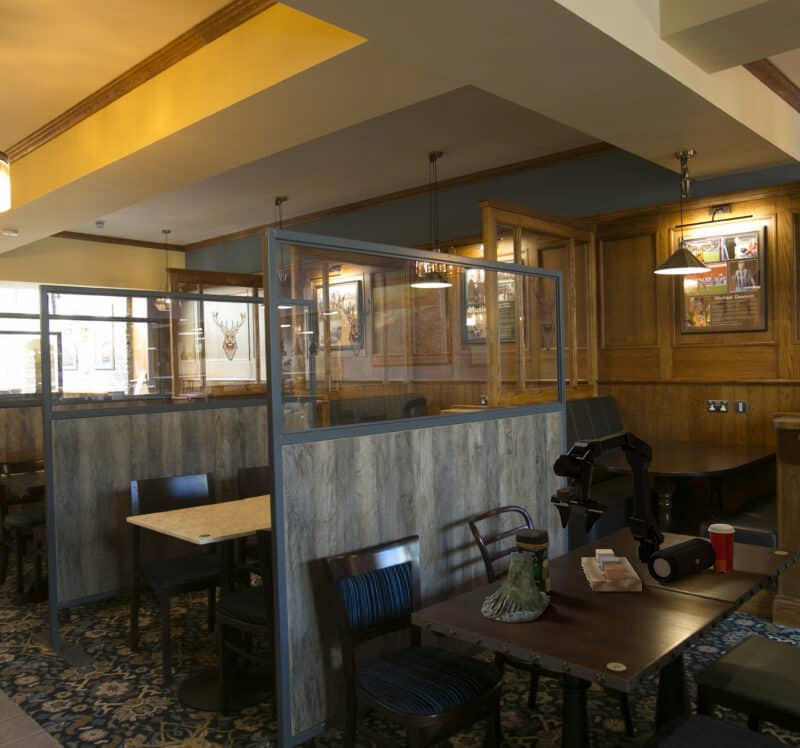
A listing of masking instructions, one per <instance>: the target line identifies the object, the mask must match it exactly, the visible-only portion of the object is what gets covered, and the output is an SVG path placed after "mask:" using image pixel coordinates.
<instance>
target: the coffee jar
mask: <svg viewBox="0 0 800 748" xmlns="http://www.w3.org/2000/svg"><path fill="white" fill-rule="evenodd" d="M514 540H515V541H514V542H515V547H516V549H517V553H521V554H526V555H531V556H533V560H532V561H533V574H534V582H535V584H536V586H537V587H538V589H539V592H543V593H545V594H546V595H547V594H548V593H549V592H550V591H551V589H552V588H551V587H552V585H551V577H550V569H549V561H548V559H549V558H548V552H549V551H548V549H549V546H550V539H549V533H548V531H547V530H545V529H544V530H543V529H537V528H529V527H522V528H519V529H517V530H516V532H515V539H514Z"/></svg>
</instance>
